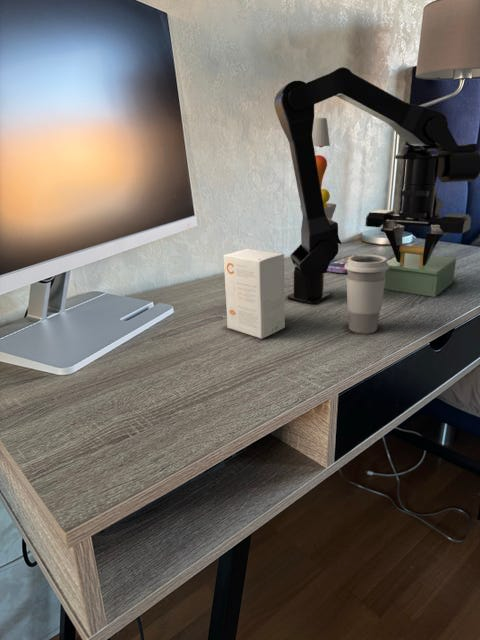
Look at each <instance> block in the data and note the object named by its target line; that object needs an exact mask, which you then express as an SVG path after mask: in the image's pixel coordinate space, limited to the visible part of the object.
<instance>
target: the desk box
mask: <svg viewBox="0 0 480 640" xmlns="http://www.w3.org/2000/svg"><path fill="white" fill-rule="evenodd" d="M456 263H457V260H456V261H455V262H454V263H452V264H451V265H449V266H448V267H447V268H445V269H444V270H443V271H441V272H440V273H438V274H437V275H435V274H428V273H420V272H413V271H405V270H398V269H391V268H389V269H388V270H386V272H385V277H386V279H385V285H384V290H389V291H395V292H402V293H407V294H414V295H419V296H426V297H432V298H436V297H437V296H438V295H439V294H441V293H442V292H443V291H444V290H445V289H447V288H448V287H449V286H450V285H452V284H453V283H454V278H455V272H456V271H455V270H456V265H457V264H456Z"/></svg>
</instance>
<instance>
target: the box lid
mask: <svg viewBox="0 0 480 640" xmlns="http://www.w3.org/2000/svg"><path fill="white" fill-rule="evenodd" d="M399 252H400V253H401V254H400V262H397V260H396V258H395V256H394V257H392V258H390V259H388V260H387V263H388V264H389V268H391V269H398V270H405V271H413V272H420V273H428V274H435V275H437V274H438V273H440V272H441V271H443V270H444V269H445V268H447V267H448V266H449V265H451V264H452V263H454V262H455V261H456V262H457V257H448V256H439V255H431V256H430V258H429V260H428V262H427V264H426V265H425V266H423V253H424V246H418V245H408V244H402V245H401V246H400V248H399Z"/></svg>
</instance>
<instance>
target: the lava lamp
mask: <svg viewBox="0 0 480 640" xmlns="http://www.w3.org/2000/svg"><path fill="white" fill-rule="evenodd" d="M312 139H313V145H314V147H318V148H324V147H330V146H331V143H330V134H329V127H328V119H327V117H314V124H313V132H312ZM315 157H316V162H317V168H318V174H319V180H320V186H321V187H322V185H323V179H324V176H325V173H326V170H327V167H328V160H327V158H326V157H325V156H323V155H320V154H318V155H317V154H316V155H315ZM321 192H322V198H323V204H324V210H325V214H326V217H327V219H328V218H329V219H331V220H333V216H334V213H335V212H336V208H337V204H336V203H331V202H329V200H330V199H331V198H330V197H331V194H330V192H329V190H328V189H326V188H321ZM299 206H300V211H301V212H302V209H301V204H300V205H299ZM333 261H334V259H333V260H332V261H331V262H333ZM331 262H330V263H331Z"/></svg>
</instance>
